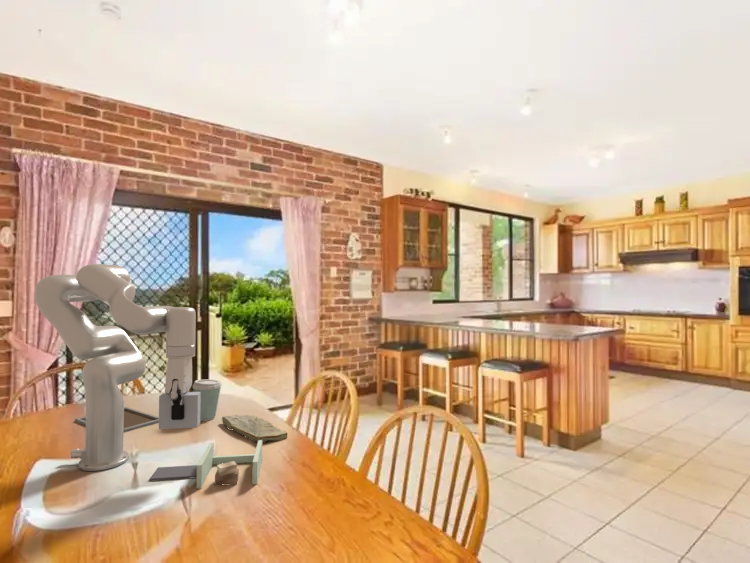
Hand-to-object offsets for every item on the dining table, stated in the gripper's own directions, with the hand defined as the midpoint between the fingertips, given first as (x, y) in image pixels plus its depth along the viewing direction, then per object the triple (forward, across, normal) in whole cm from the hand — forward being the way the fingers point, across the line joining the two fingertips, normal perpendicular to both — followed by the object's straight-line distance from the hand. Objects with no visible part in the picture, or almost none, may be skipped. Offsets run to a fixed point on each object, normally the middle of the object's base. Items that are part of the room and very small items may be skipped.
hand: (179, 416), depth 118 cm
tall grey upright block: (+3, 0, 0) cm, 3 cm away
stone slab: (+17, -33, +16) cm, 40 cm away
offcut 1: (+13, +8, +14) cm, 21 cm away
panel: (+16, 0, 0) cm, 16 cm away
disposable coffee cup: (+16, -49, -3) cm, 52 cm away
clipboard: (+17, -51, -36) cm, 64 cm away
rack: (+16, +2, +14) cm, 22 cm away
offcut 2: (+16, +7, +14) cm, 23 cm away
